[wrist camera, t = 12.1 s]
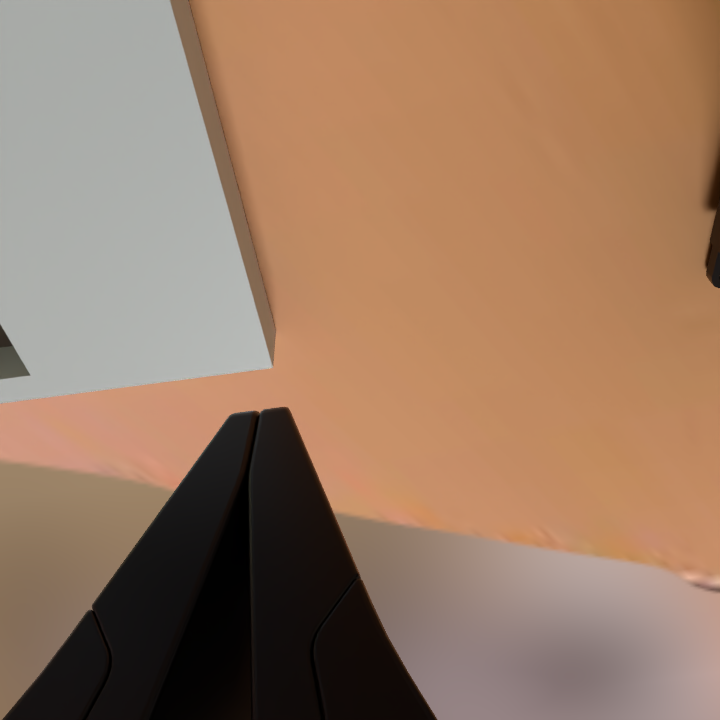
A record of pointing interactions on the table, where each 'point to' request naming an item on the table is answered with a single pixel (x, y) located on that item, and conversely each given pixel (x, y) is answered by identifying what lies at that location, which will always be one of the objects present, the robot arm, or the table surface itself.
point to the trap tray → (118, 205)
